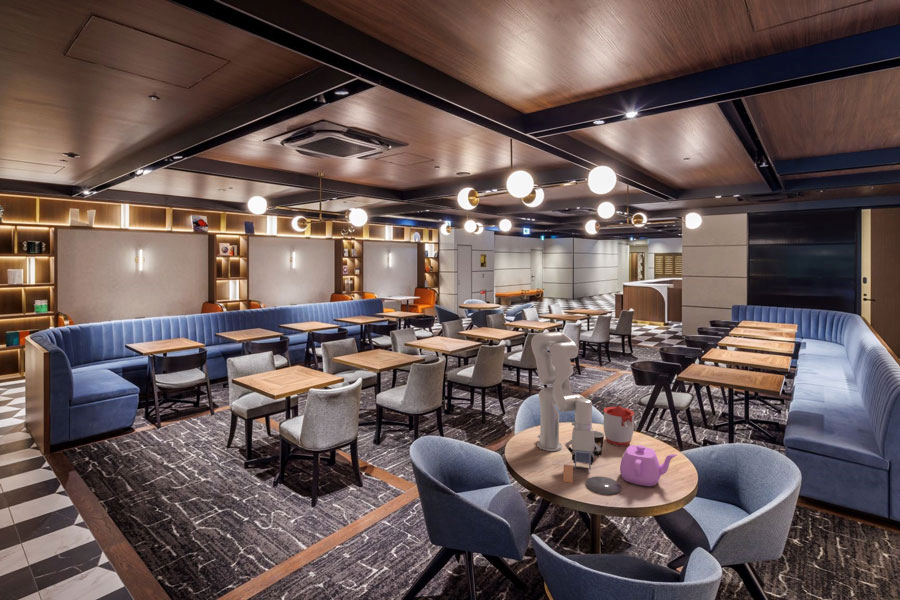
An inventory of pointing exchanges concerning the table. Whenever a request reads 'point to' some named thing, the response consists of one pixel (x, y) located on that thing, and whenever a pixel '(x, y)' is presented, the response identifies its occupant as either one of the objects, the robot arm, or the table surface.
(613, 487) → the charcoal dish
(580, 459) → the grey angular piece
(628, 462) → the teapot
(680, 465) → the table surface
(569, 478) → the terracotta block
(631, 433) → the red and white bucket
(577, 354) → the robot arm
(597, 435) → the coffee mug
